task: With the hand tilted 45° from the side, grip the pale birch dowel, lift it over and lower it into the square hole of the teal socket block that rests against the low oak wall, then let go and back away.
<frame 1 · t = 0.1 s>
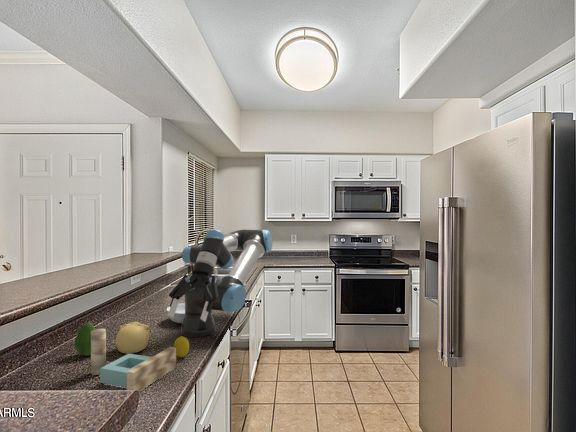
hand: (186, 318, 127), 15 cm above the worktop, tool tilted 35°, fingers open, 13 cm apart
lemon: (181, 358, 130), on the worktop
oak wall: (153, 380, 112), on the worktop
serving bowl: (188, 321, 174), on the worktop
dowel: (98, 372, 118), on the worktop
sculpture: (132, 351, 137), on the worktop
avocado: (87, 355, 133), on the worktop
socket block: (130, 378, 114), on the worktop
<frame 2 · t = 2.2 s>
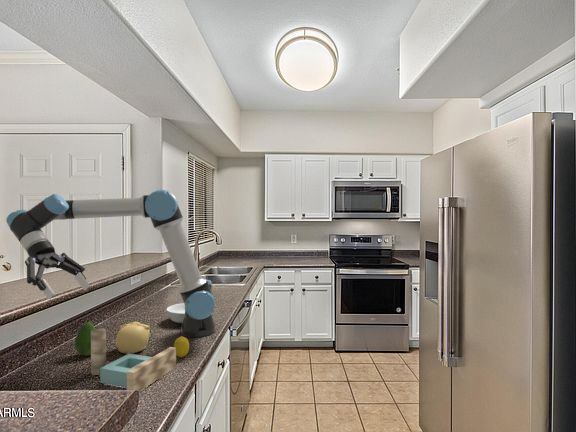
hand: (70, 292, 122), 26 cm above the worktop, tool tilted 45°, fingers open, 13 cm apart
nothing on the worktop moved.
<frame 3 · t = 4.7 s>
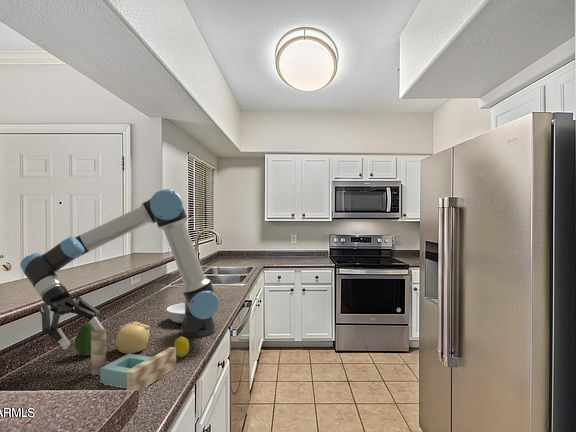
hand: (85, 339, 119), 11 cm above the worktop, tool tilted 45°, fingers open, 13 cm apart
nothing on the worktop moved.
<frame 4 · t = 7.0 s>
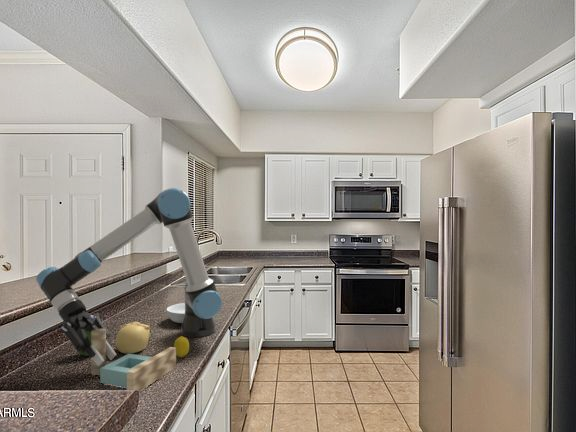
hand: (107, 360, 117), 5 cm above the worktop, tool tilted 45°, fingers closed on dowel, 4 cm apart
dowel: (98, 372, 118), on the worktop, touching gripper
everything else where it was.
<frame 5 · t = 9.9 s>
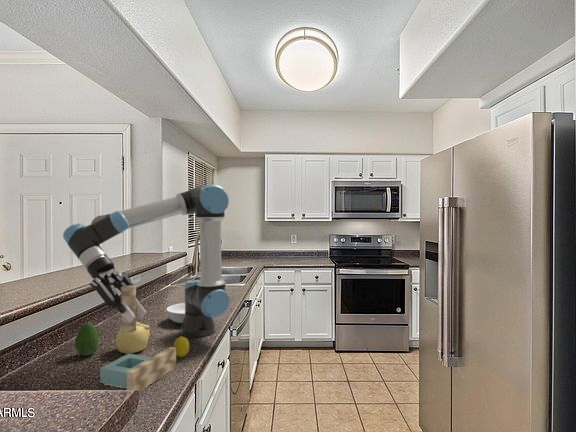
hand: (138, 317, 113), 20 cm above the worktop, tool tilted 45°, fingers closed on dowel, 4 cm apart
dowel: (128, 330, 114), point 15 cm above the worktop, touching gripper
everything else where it was.
when the fingers open (8 cm above the worktop, at t = 12.6 s): dowel drops 3 cm, resting in socket block.
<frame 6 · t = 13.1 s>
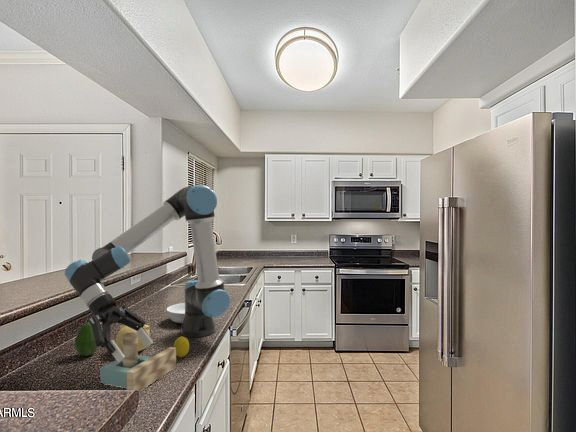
hand: (136, 352, 113), 9 cm above the worktop, tool tilted 45°, fingers open, 12 cm apart
dowel: (129, 378, 114), resting in socket block
everything else where it was.
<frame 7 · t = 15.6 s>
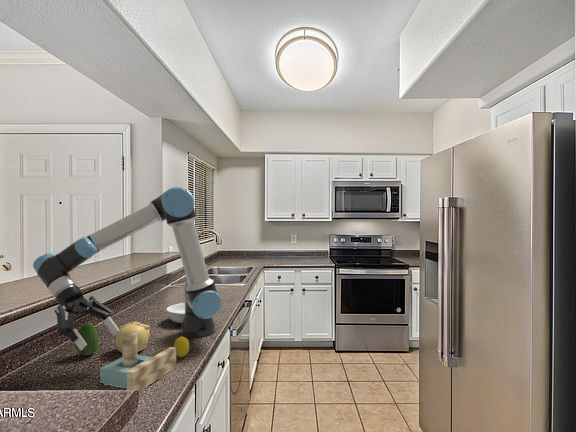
hand: (101, 340, 118), 11 cm above the worktop, tool tilted 45°, fingers open, 13 cm apart
nothing on the worktop moved.
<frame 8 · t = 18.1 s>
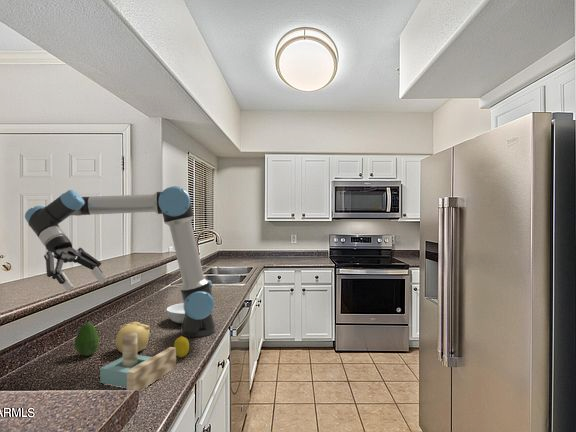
hand: (88, 285, 124), 28 cm above the worktop, tool tilted 45°, fingers open, 13 cm apart
nothing on the worktop moved.
at the end: dowel 0.1 cm off-centre on the socket block, point 0.0 cm above the socket block's base; dowel tilted 0°; socket block moved 0.0 cm from its start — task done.
